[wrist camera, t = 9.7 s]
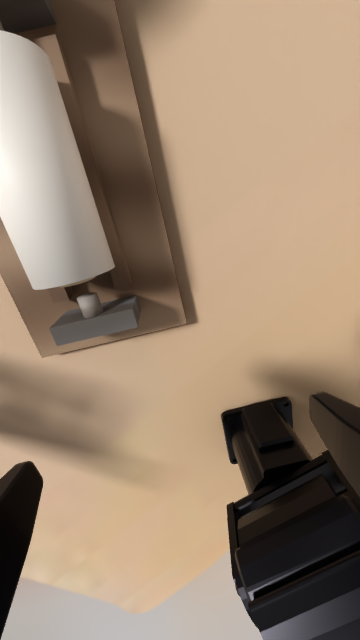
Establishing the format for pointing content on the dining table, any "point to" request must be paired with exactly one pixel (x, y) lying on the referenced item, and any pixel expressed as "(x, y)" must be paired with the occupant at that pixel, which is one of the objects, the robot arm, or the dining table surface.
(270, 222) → the dining table surface
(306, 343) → the dining table surface
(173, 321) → the cradle
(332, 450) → the robot arm
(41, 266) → the roll
